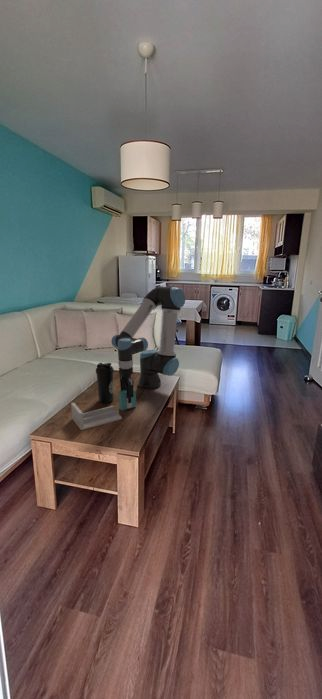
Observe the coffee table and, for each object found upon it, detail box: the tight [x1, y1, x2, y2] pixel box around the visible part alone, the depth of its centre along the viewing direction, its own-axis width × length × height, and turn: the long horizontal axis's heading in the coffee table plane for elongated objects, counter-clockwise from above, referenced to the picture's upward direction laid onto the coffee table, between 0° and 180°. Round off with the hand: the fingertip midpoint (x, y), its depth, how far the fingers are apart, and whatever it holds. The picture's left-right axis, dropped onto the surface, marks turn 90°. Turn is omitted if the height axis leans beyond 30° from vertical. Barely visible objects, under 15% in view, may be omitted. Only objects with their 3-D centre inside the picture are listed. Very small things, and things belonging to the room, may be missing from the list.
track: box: [70, 402, 123, 431], centre depth 171 cm, size 22×14×9 cm, turn 122°
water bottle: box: [95, 362, 115, 405], centre depth 191 cm, size 10×10×23 cm
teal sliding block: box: [117, 388, 137, 411], centre depth 183 cm, size 9×4×10 cm, turn 122°
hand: (127, 406), depth 184 cm, fingers closed on teal sliding block, 3 cm apart
